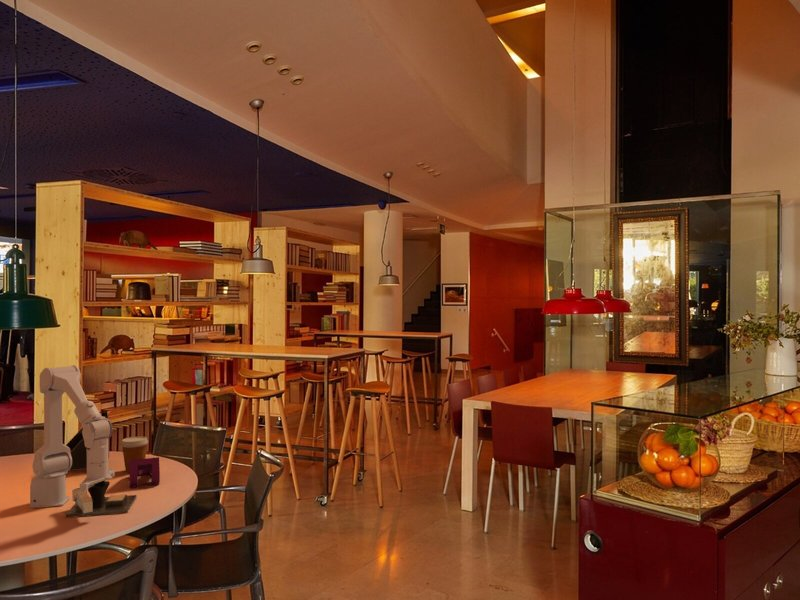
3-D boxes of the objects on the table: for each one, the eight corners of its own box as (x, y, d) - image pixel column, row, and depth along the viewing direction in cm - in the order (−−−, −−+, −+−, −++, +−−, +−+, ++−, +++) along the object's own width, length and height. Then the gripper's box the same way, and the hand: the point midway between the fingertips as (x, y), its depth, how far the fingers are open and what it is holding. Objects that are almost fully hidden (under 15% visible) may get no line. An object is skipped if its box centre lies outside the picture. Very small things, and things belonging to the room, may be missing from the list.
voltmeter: (63, 464, 239) (62, 413, 239) (109, 460, 246) (108, 410, 246) (57, 475, 224) (57, 421, 224) (106, 470, 231) (106, 417, 231)
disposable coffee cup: (142, 474, 225) (141, 442, 225) (116, 474, 225) (116, 442, 225) (152, 467, 234) (152, 436, 234) (127, 467, 234) (127, 436, 234)
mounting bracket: (129, 494, 221) (129, 485, 206) (129, 471, 224) (129, 460, 209) (157, 491, 224) (159, 481, 210) (156, 467, 228) (159, 457, 213)
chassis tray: (65, 517, 181) (65, 508, 181) (79, 502, 194) (79, 493, 194) (127, 512, 184) (127, 503, 184) (136, 498, 198) (136, 489, 198)
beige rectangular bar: (71, 498, 188) (71, 489, 188) (85, 496, 191) (85, 486, 191) (80, 513, 175) (80, 503, 175) (95, 511, 177) (95, 500, 177)
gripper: (96, 468, 172) (96, 516, 172) (123, 455, 186) (124, 499, 186) (72, 468, 172) (72, 516, 172) (101, 454, 187) (102, 499, 187)
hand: (97, 507), depth 179 cm, fingers closed
